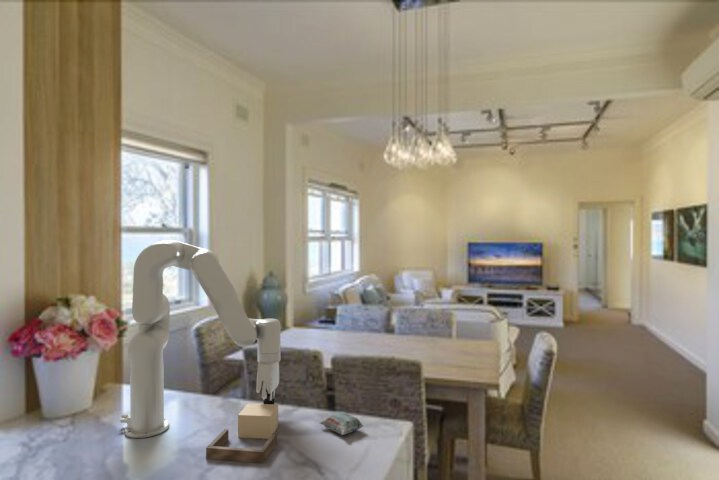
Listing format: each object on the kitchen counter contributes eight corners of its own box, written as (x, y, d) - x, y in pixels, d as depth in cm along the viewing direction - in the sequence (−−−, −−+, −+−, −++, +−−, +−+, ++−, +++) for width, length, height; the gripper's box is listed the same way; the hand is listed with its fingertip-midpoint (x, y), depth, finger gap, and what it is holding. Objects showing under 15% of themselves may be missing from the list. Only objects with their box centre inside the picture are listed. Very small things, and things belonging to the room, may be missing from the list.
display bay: (206, 458, 121) (206, 447, 121) (224, 439, 133) (224, 429, 133) (263, 463, 119) (263, 452, 119) (277, 442, 131) (277, 432, 130)
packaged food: (342, 441, 132) (343, 425, 132) (318, 428, 140) (318, 413, 140) (364, 433, 138) (364, 417, 138) (339, 421, 146) (339, 406, 146)
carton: (238, 437, 134) (238, 414, 134) (247, 425, 143) (247, 403, 143) (270, 439, 133) (270, 416, 133) (278, 426, 142) (278, 404, 142)
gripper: (265, 350, 155) (265, 401, 155) (249, 362, 140) (249, 419, 140) (286, 350, 154) (286, 403, 154) (272, 363, 139) (272, 421, 140)
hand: (268, 410), depth 147 cm, fingers closed
